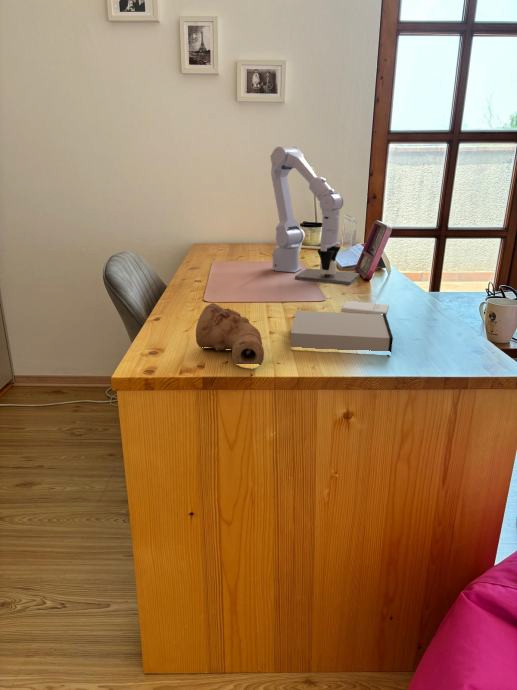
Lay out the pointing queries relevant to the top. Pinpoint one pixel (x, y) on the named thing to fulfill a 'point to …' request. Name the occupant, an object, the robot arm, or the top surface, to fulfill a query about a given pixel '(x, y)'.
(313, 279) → the steel tile with stud
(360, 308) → the external hard drive
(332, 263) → the ring
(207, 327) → the clay pipe
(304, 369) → the top surface
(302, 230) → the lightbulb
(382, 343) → the disc drive
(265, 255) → the top surface
